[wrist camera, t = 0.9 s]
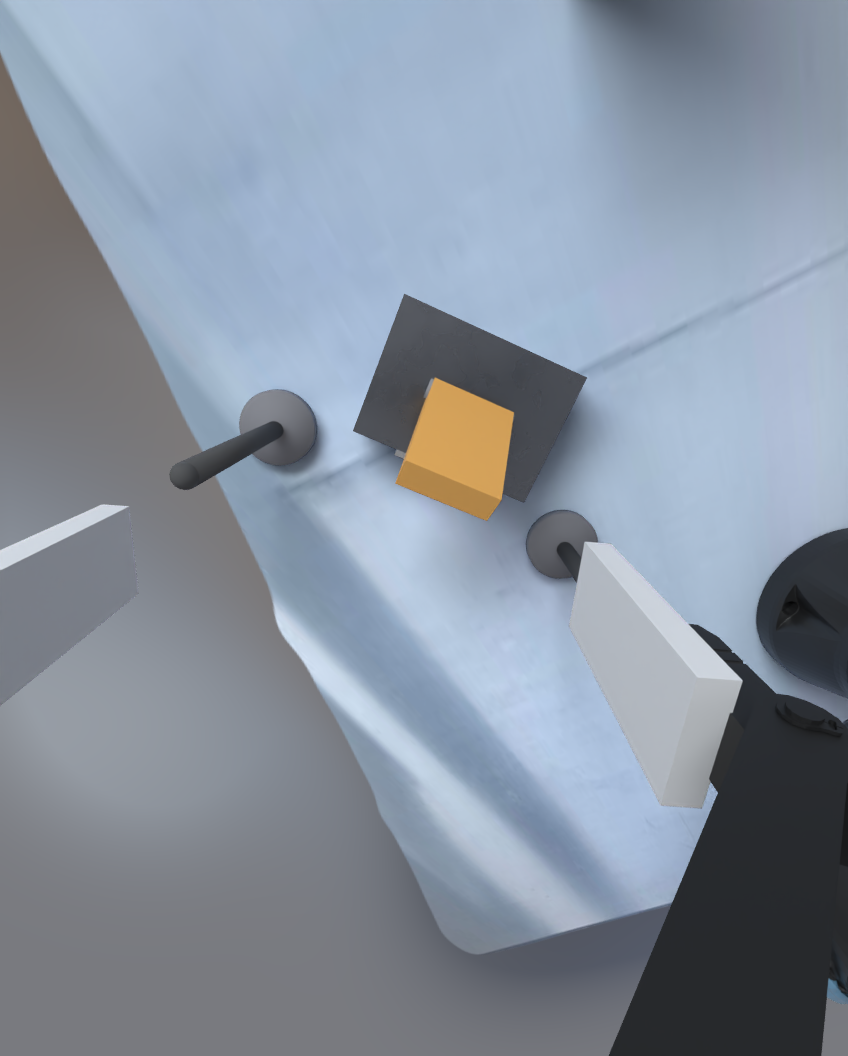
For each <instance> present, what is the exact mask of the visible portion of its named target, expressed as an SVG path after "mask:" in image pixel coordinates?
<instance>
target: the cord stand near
mask: <svg viewBox="0 0 848 1056" xmlns="http://www.w3.org/2000/svg"><path fill="white" fill-rule="evenodd" d="M239 427H240V434H241V435H239V436H237V437H235V438H233V439H230V440H228V441H226V442H224V443H222V444H219V445H217V446H215V447H213V448H210V449H208V450H206V451H204V452H201V453H199V454H197V455H195V456H193V457H190V458H188V459H186V460H183V461H181V462H179V463H177V464H175V465H174V466H173V467H172V469H171V470H170V480H171V482H172V483H173V485H175V486H176V487H177V488H179V489H183V490H188V489H192V488H194V487H196V486H197V485H199V484H201V483H203V482H204V481H206V480H208V479H209V478H211V477H212V476H215V475H216V474H218V473H220V472H221V471H223V470H225V469H227V468H228V467H230V466H232V465H233V464H235V463H237V462H239V461H240V460H242V459H244V458H245V457H247V456H249V455H251V454H253V455H254V456H255V457H257V458H258V459H260V460H261V461H263V462H265V463H268V464H272V465H288V464H291V463H294V462H296V461H298V460H299V459H301V458H302V457H303V456H305V455H306V454H307V453H308V452H309V450H310V449H311V448H312V446H313V444H314V442H315V439H316V434H317V425H316V420H315V416H314V414H313V412H312V410H311V408H310V407H309V405H308V404H307V403H306V402H305V401H304V400H303V399H302V398H301V397H299V396H298V395H296V394H294V393H292V392H289V391H286V390H278V389H277V390H269V391H265V392H262V393H259V394H257V395H255V396H254V397H252V398H251V399H250V400H249V401H248V402H247V403H246V405H245V406H244V408H243V410H242V412H241V416H240V422H239Z"/></svg>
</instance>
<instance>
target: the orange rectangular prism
mask: <svg viewBox="0 0 848 1056" xmlns="http://www.w3.org/2000/svg"><path fill="white" fill-rule="evenodd" d="M423 398H426V399H425V402H424V405H423V407H422V410H421V413H420V416H419V418H418V421H417V424H416V427H415V430H414V432H413V435H412V438H411V441H410V444H409V446H408V449H407V452H406V455H405V458H404V460H403V463H402V466H401V469H400V472H399V474H398V477H397V480H396V483H395V484H398V485H400V486H403V487H405V488H408V489H410V490H412V491H415V492H417V493H420V494H422V495H425V496H427V497H430V498H432V499H434V500H437V501H439V502H442V503H444V504H447V505H449V506H452V507H454V508H456V509H459V510H461V511H464V512H466V513H469V514H471V515H474V516H476V517H478V518H481V519H483V520H486V521H487V520H488V519H489V517H490V516H491V514H492V513H493V512H494V510H495V509H496V507H497V506H498V504H499V503H500V502H501V500H502V493H503V486H504V479H505V472H506V465H507V458H508V451H509V444H510V437H511V430H512V423H513V421H514V417H515V415H514V412H512V411H510V410H508V409H505V408H503V407H501V406H498V405H496V404H494V403H492V402H489V401H487V400H485V399H483V398H480V397H478V396H476V395H474V394H471V393H469V392H467V391H464V390H462V389H460V388H458V387H455V386H453V385H451V384H449V383H446V382H444V381H442V380H440V379H437V378H434V379H432V378H431V380H430V382H429V384H428V387H427V389H426V392H425V394H424V397H423Z"/></svg>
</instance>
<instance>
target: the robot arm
mask: <svg viewBox="0 0 848 1056" xmlns="http://www.w3.org/2000/svg"><path fill="white" fill-rule="evenodd" d="M138 594H139V592H138V583H137V573H136V564H135V555H134V547H133V537H132V528H131V519H130V510H129V506H116V505H100V506H98V507H96V508H93V509H91V510H89V511H87V512H84V513H82V514H80V515H78V516H75V517H73V518H71V519H69V520H67V521H64V522H62V523H60V524H58V525H55V526H53V527H51V528H49V529H46V530H44V531H42V532H40V533H38V534H35V535H33V536H31V537H29V538H27V539H24V540H22V541H20V542H18V543H15V544H13V545H11V546H9V547H7V548H4V549H2V550H0V705H2V704H3V703H4V702H6V701H7V700H8V699H9V698H10V697H12V696H13V695H14V694H15V693H17V692H18V691H19V690H20V689H22V688H23V687H24V686H25V685H27V684H28V683H29V682H30V681H32V680H33V679H34V678H35V677H36V676H38V675H39V674H40V673H41V672H43V671H44V670H45V669H46V668H47V667H49V666H50V665H51V664H52V663H53V662H55V661H56V660H57V659H59V658H60V657H61V656H62V655H63V654H65V653H66V652H67V651H69V650H70V649H71V648H72V647H73V646H75V645H76V644H77V643H78V642H80V641H81V640H82V639H83V638H85V637H86V636H87V635H88V634H90V633H91V632H92V631H93V630H94V629H96V628H97V627H98V626H99V625H101V624H102V623H103V622H104V621H105V620H107V619H108V618H109V617H111V616H112V615H113V614H114V613H115V612H117V611H118V610H119V609H120V608H121V607H123V606H124V605H125V604H127V603H128V602H129V601H130V600H131V599H133V598H134V597H135V596H136V595H138ZM569 627H570V629H571V631H572V633H573V635H574V637H575V639H576V641H577V643H578V645H579V647H580V649H581V651H582V653H583V655H584V657H585V659H586V661H587V662H588V664H589V666H590V668H591V670H592V672H593V674H594V676H595V678H596V680H597V682H598V684H599V686H600V688H601V690H602V692H603V694H604V696H605V698H606V700H607V702H608V704H609V706H610V707H611V709H612V711H613V713H614V715H615V717H616V719H617V721H618V723H619V725H620V727H621V729H622V731H623V733H624V735H625V737H626V739H627V741H628V743H629V745H630V747H631V749H632V751H633V753H634V754H635V756H636V758H637V760H638V762H639V764H640V766H641V768H642V770H643V772H644V774H645V776H646V778H647V780H648V782H649V784H650V786H651V788H652V790H653V792H654V794H655V796H656V798H657V799H658V801H659V803H660V805H661V806H674V807H688V808H702V807H703V804H704V800H705V797H706V794H707V791H708V788H709V785H710V782H711V783H712V784H713V786H714V787H715V789H716V790H717V792H718V794H717V797H716V799H715V802H714V804H713V806H712V809H711V811H710V814H709V816H708V818H707V821H706V823H705V826H704V828H703V830H702V833H701V835H700V838H699V840H698V842H697V845H696V847H695V850H694V852H693V854H692V857H691V859H690V862H689V864H688V866H687V869H686V871H685V874H684V876H683V878H682V881H681V883H680V886H679V888H678V890H677V893H676V895H675V898H674V900H673V902H672V905H671V907H670V910H669V912H668V915H667V917H666V919H665V922H664V924H663V927H662V929H661V931H660V934H659V936H658V939H657V941H656V943H655V946H654V948H653V951H652V953H651V956H650V958H649V960H648V963H647V965H646V967H645V970H644V972H643V975H642V977H641V980H640V982H639V984H638V987H637V989H636V991H635V994H634V996H633V999H632V1001H631V1003H630V1006H629V1009H628V1011H627V1013H626V1016H625V1018H624V1020H623V1023H622V1025H621V1027H620V1030H619V1033H618V1035H617V1037H616V1040H615V1042H614V1044H613V1047H612V1049H611V1052H610V1054H609V1056H821V1052H822V1042H823V1031H824V1021H825V1010H826V1000H827V998H829V999H831V1000H833V1001H835V1002H837V1003H840V1004H848V719H847V720H846V721H845V722H843V723H842V722H841V721H840V720H839V719H838V718H836V717H835V716H833V715H832V714H830V713H829V712H827V711H826V710H824V709H823V708H820V707H818V706H816V705H814V704H812V703H810V702H808V701H805V700H802V699H799V698H795V697H792V696H789V695H781V694H776V693H775V692H774V691H773V690H772V689H771V688H770V687H769V686H768V685H767V684H766V683H765V682H764V681H763V680H762V679H761V678H760V677H758V676H757V675H756V674H755V673H754V672H753V671H752V670H751V669H750V668H749V667H748V666H747V665H746V664H743V661H742V660H741V659H740V658H739V657H738V656H737V655H736V654H735V653H732V652H731V651H732V650H731V649H730V648H729V647H728V646H727V645H726V644H725V643H724V642H723V641H722V640H721V639H720V638H719V637H717V636H716V635H714V634H712V633H710V632H709V631H707V630H705V629H704V628H702V627H700V626H699V625H694V624H688V623H687V622H686V621H685V620H684V619H683V618H682V617H681V616H680V615H679V614H678V613H677V612H676V611H675V610H674V609H673V608H672V607H671V606H670V605H669V604H668V602H667V601H666V600H665V599H664V598H663V597H662V596H661V595H660V594H659V593H658V592H657V591H656V590H655V589H654V588H653V587H652V586H651V585H650V584H649V583H648V582H647V581H646V580H645V579H644V578H643V576H642V575H641V574H640V573H639V572H638V571H637V570H636V569H635V568H634V567H633V566H632V565H631V564H630V563H629V562H628V561H627V560H626V559H625V558H624V557H623V556H622V555H621V554H620V553H619V552H618V550H617V549H616V548H615V547H614V546H613V545H612V544H608V543H596V542H585V543H584V548H583V553H582V559H581V564H580V569H579V575H578V580H577V585H576V591H575V596H574V601H573V607H572V612H571V617H570V623H569ZM757 629H758V633H759V637H760V639H761V642H762V644H763V646H764V647H765V649H766V650H767V652H768V653H769V654H770V655H771V656H772V657H773V658H774V659H775V660H776V661H777V662H779V663H780V664H781V665H782V666H783V667H784V668H785V669H787V670H788V671H789V672H790V673H792V674H793V675H795V676H797V677H798V678H800V679H802V680H804V681H806V682H808V683H811V684H813V685H816V686H818V687H821V688H823V689H826V690H828V691H831V692H833V693H836V694H838V695H841V696H843V697H846V698H848V528H846V529H841V530H837V531H833V532H830V533H827V534H825V535H822V536H820V537H818V538H816V539H813V540H812V541H810V542H808V543H806V544H805V545H803V546H802V547H800V548H799V549H797V550H796V551H795V552H793V553H792V554H791V555H790V556H789V557H787V558H786V559H785V560H784V561H783V562H782V563H781V564H780V566H779V567H778V568H777V569H776V570H775V572H774V573H773V574H772V576H771V577H770V579H769V580H768V582H767V584H766V586H765V588H764V590H763V592H762V594H761V597H760V600H759V604H758V609H757Z"/></svg>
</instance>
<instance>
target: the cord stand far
mask: <svg viewBox="0 0 848 1056" xmlns="http://www.w3.org/2000/svg"><path fill="white" fill-rule="evenodd" d="M585 542H596V543H598V540H597V535H596V532H595V530H594V529H593V527H592V526H591V524H590V523H589V522H588V521H587V520H586V519H585V518H584V517H582V516H581V515H580V514H578V513H575V512H573V511H568V510H557V511H552V512H549V513H547V514H545V515H543V516H542V517H540V518H539V519H538V520H537V521H536V522H535V523H534V524H533V525H532V527H531V528H530V530H529V532H528V535H527V539H526V549H527V553H528V556H529V558H530V560H531V562H532V564H533V565H534V567H535V568H536V569H537V570H538V571H539V572H541V573H542V574H544V575H546V576H548V577H552V578H559V579H561V578H569V577H573V578H574V580H575V581H576V583H577V580H578V575H579V569H580V564H581V559H582V553H583V548H584V543H585Z"/></svg>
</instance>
